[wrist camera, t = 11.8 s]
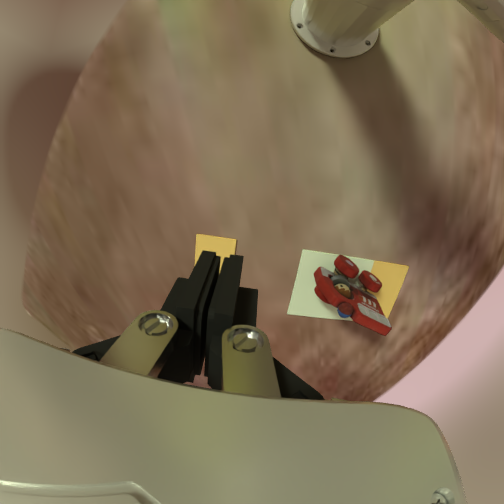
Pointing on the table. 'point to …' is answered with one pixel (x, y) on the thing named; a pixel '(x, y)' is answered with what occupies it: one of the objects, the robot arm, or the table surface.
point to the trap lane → (303, 291)
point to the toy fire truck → (352, 294)
